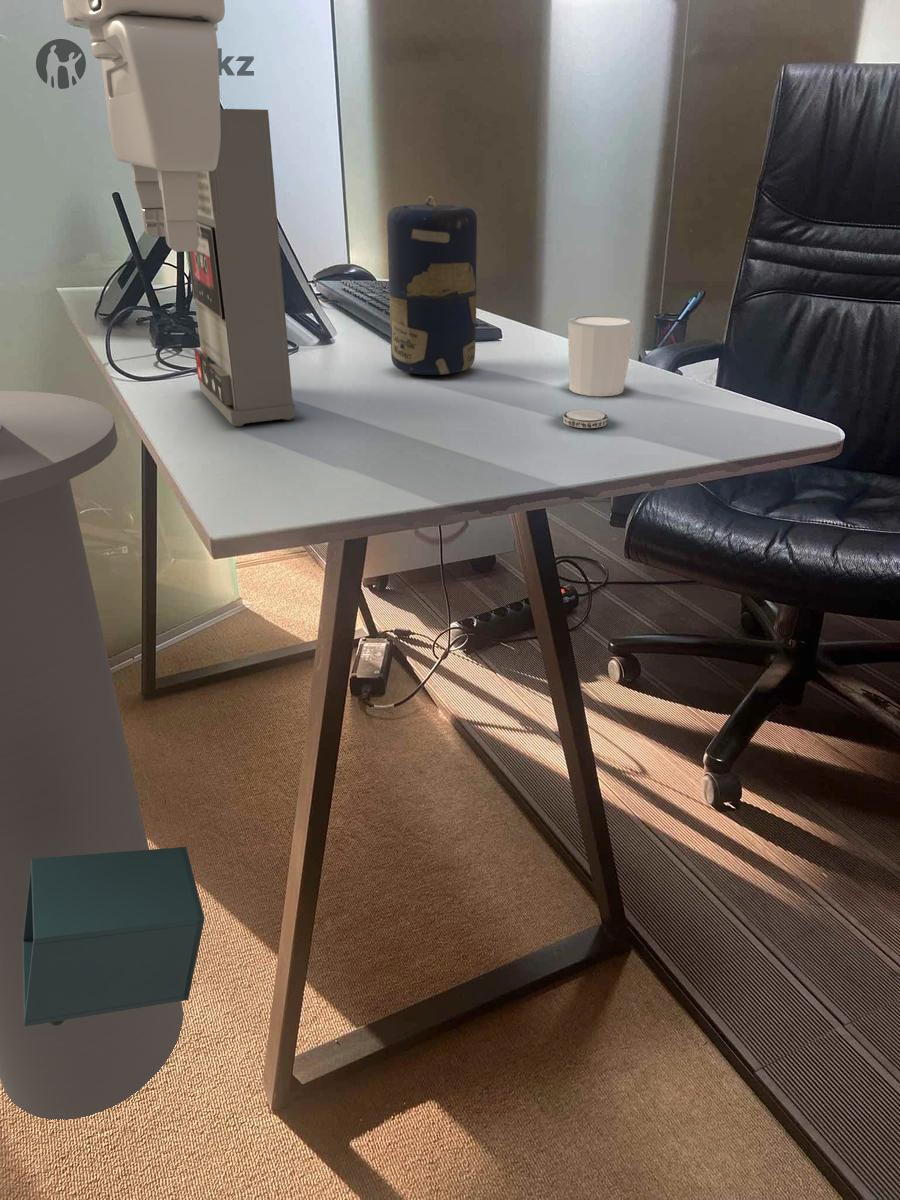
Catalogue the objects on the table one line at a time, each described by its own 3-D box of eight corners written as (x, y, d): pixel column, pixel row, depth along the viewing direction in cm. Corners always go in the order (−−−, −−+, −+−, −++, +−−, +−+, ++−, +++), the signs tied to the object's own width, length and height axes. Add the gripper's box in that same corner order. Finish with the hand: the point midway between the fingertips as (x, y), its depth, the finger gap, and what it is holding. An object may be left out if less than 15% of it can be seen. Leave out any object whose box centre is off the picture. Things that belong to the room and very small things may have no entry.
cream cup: (588, 378, 94) (593, 312, 91) (641, 389, 90) (649, 320, 87) (550, 389, 90) (554, 320, 86) (604, 401, 86) (611, 329, 82)
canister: (474, 361, 101) (478, 193, 93) (475, 380, 93) (479, 198, 84) (394, 360, 101) (390, 192, 93) (387, 379, 93) (382, 197, 85)
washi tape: (615, 424, 78) (616, 418, 78) (578, 430, 76) (578, 423, 76) (591, 414, 81) (591, 407, 81) (554, 418, 80) (555, 412, 79)
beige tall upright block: (198, 393, 88) (160, 113, 76) (256, 386, 90) (228, 114, 79) (229, 428, 77) (191, 107, 65) (295, 420, 79) (270, 109, 68)
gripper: (69, 9, 58) (104, 229, 65) (102, -37, 42) (143, 262, 49) (165, 16, 61) (188, 228, 67) (230, -25, 45) (253, 259, 51)
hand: (170, 242), depth 58 cm, fingers open, 8 cm apart
